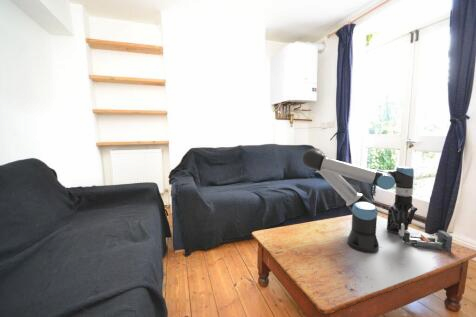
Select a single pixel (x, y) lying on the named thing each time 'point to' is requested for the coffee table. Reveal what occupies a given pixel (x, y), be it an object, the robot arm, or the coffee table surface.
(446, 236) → the gauge body
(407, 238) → the plunger
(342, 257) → the coffee table surface
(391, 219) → the camera
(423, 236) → the orange upright plank
